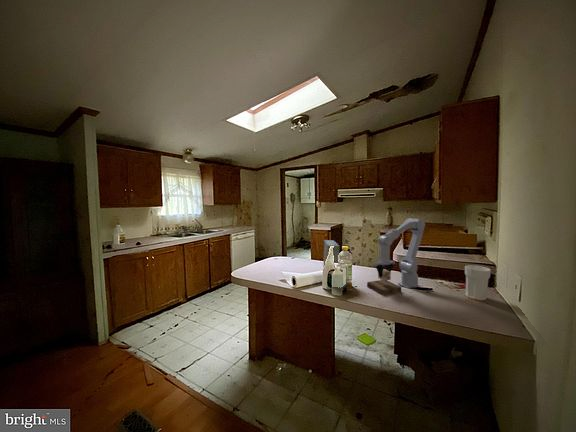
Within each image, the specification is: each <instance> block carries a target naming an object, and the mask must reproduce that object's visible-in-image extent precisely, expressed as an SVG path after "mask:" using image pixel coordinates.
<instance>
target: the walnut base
mask: <svg viewBox="0 0 576 432" xmlns="http://www.w3.org/2000/svg"><path fill="white" fill-rule="evenodd" d="M366 287H367V288H368V289H370V290H372V291H374V292H375V293H377V294H379V295H381V296H387V295H392V294H398V293H402V286H400V285H399V284H395V283H394V282H391V281H390V280H385V281H383V280H381V279H379V280H371V281H367V283H366Z"/></svg>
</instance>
